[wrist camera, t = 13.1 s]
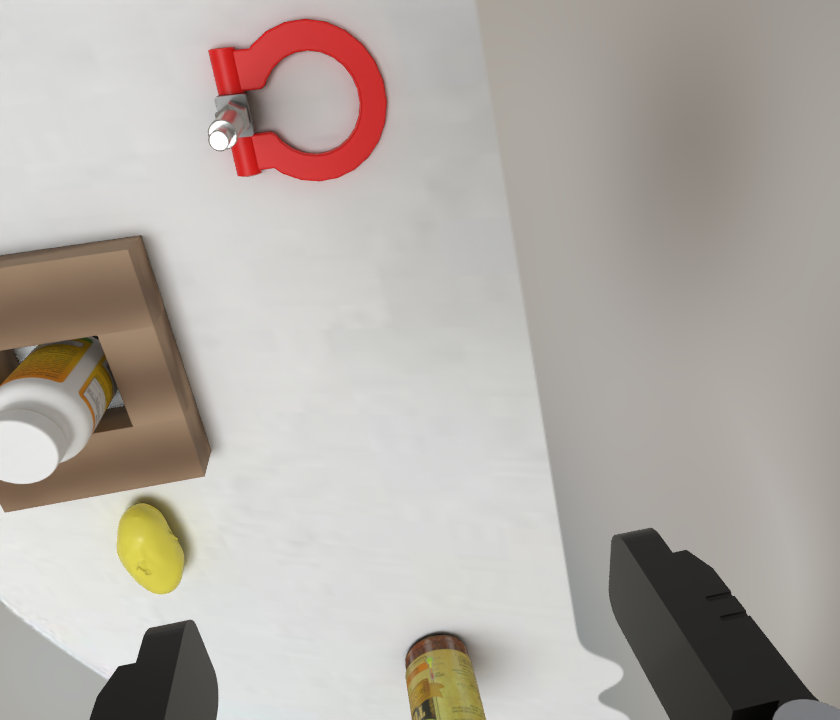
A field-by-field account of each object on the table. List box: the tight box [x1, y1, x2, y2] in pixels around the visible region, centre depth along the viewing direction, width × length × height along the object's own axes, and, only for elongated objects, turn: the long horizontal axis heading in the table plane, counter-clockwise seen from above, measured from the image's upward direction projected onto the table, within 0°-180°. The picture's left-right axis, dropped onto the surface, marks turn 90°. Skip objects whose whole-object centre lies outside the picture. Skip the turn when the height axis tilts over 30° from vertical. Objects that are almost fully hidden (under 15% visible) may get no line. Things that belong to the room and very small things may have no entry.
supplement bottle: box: [0, 336, 118, 484], centre depth 35 cm, size 5×5×10 cm
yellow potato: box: [117, 503, 184, 594], centre depth 45 cm, size 4×8×4 cm, turn 3°
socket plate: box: [0, 236, 211, 512], centre depth 38 cm, size 16×13×3 cm
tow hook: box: [208, 19, 387, 181], centre depth 29 cm, size 8×13×9 cm
